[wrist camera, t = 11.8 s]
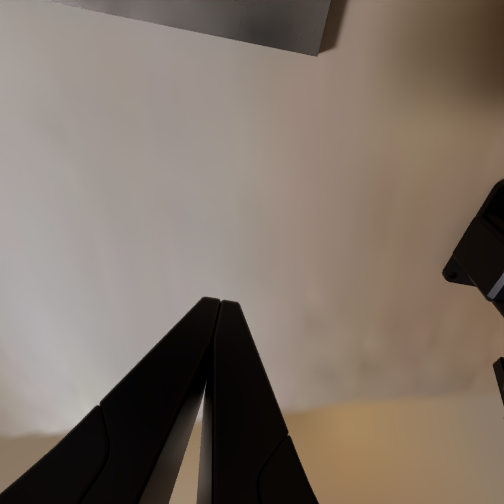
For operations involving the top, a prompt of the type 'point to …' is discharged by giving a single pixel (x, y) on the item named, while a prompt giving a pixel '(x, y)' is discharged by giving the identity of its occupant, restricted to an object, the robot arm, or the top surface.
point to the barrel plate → (229, 18)
